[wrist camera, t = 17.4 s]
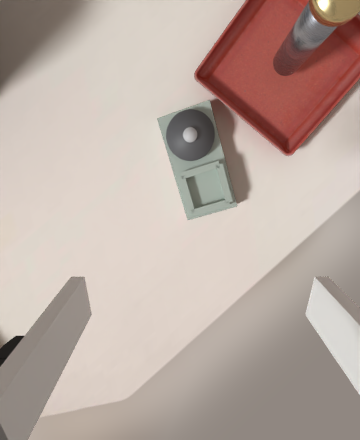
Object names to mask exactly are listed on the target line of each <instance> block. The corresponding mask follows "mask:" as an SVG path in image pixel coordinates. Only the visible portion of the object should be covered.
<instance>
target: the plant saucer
mask: <svg viewBox="0 0 360 440" xmlns="http://www.w3.org/2000/svg"><path fill="white" fill-rule="evenodd" d="M308 1H309V0H246V1H245V2H244V4H243V5H242V6H241V8H240V9H239V10H238V12H237V13H236V15H235V16H234V18H233V19H232V20H231V22H230V23H229V24H228V26H227V27H226V29H225V30H224V32H223V33H222V35H221V36H220V37H219V39H218V40H217V42H216V43H215V44H214V46H213V47H212V49H211V50H210V51H209V53H208V54H207V55H206V57H205V58H204V60H203V61H202V62H201V64H200V65H199V67H198V68H197V69H196V71H195V73H194V77H195V80H196V81H197V82H198V83H200V84H201V85H202V86H203V87H204V88H206V89H207V90H208V91H209V92H211V93H212V94H213V95H214V96H215V97H216V98H218V99H219V100H220V101H221V102H222V103H224V104H225V105H226V106H227V107H228V108H230V109H231V110H232V111H233V112H234V113H235V114H237V115H238V116H239V117H240V118H241V119H243V120H244V121H245V122H246V123H247V124H249V125H250V126H251V127H252V128H253V129H255V130H256V131H257V132H258V133H259V134H260V135H262V136H263V137H264V138H265V139H266V140H268V141H269V142H270V143H271V144H272V145H273V146H275V147H276V148H277V149H278V150H279V151H280V152H282V153H283V154H284V155H286V156H291V155H292V154H293V153H294V152H295V151H296V150H297V149H298V148H299V147H300V145H301V144H302V143H303V142H304V141H305V140H306V139H307V138H308V137H309V135H310V134H311V133H312V132H313V131H314V130H315V129H316V128H317V127H318V125H319V124H320V123H321V122H322V121H323V120H324V119H325V118H326V117H327V115H328V114H329V113H330V112H331V111H332V109H333V108H334V107H335V106H336V105H337V104H338V103H339V102H340V100H341V99H342V98H343V97H344V96H345V95H346V94H347V93H348V91H349V90H350V89H351V88H352V87H353V86H354V85H355V83H356V82H357V81H358V80H359V79H360V15H358V14H357V15H356V16H355V17H354V18H353V19H352V20H350V21H349V22H347V23H345V24H343V25H341V26H338V27H337V28H336V29H335V30H334V31H333V32H332V33H331V34H330V35H329V36H328V37H327V39H326V40H325V41H324V42H323V43H322V44H321V45H320V46H319V47H318V48H317V49H316V50H315V51H314V53H313V54H312V55H311V56H310V57H309V58H308V59H307V60H306V61H305V62H304V63H303V64H302V66H301V67H300V68H299V69H298V70H297V71H296V72H295V73H293V74H292V75H289V76H282V75H279V74H278V73H277V72H276V71H275V69H274V66H273V59H274V56H275V54H276V52H277V51H278V49H279V48H280V46H281V44H282V43H283V41H284V40H285V38H286V37H287V35H288V33H289V32H290V30H291V29H292V27H293V25H294V24H295V22H296V21H297V19H298V17H299V16H300V14H301V13H302V11H303V9H304V8H305V6H306V5H307V3H308Z"/></svg>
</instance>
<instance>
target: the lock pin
mask: <svg viewBox="0 0 360 440" xmlns="http://www.w3.org/2000/svg"><path fill="white" fill-rule="evenodd" d="M359 12H360V0H309V1H308V3H307V5H306V6H305V8H304V9H303V11H302V13H301V14H300V16H299V17H298V19H297V21H296V22H295V24H294V25H293V27H292V29H291V30H290V32H289V33H288V35H287V37H286V38H285V40H284V41H283V43H282V44H281V46H280V48H279V49H278V51H277V52H276V54H275V56H274V59H273V66H274V69H275V71H276V72H277V73H278V74H279V75H282V76H289V75H292V74H293V73H295V72H296V71H297V70H298V69H299V68H300V67H301V66H302V64H303V63H304V62H305V61H306V60H307V59H308V58H309V57H310V56H311V55H312V54H313V53H314V51H315V50H316V49H317V48H318V47H319V46H320V45H321V44H322V43H323V42H324V41H325V40H326V39H327V37H328V36H329V35H330V34H331V33H332V32H333V31H334V30H335V29H336V28H337V27H338V26H341V25H343V24H345V23H347V22H349V21H350V20H352V19H353V18H354V17H355V16H356V15H357V14H358V13H359Z"/></svg>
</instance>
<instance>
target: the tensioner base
mask: <svg viewBox="0 0 360 440" xmlns="http://www.w3.org/2000/svg"><path fill="white" fill-rule="evenodd" d="M157 120H158V123H159V126H160V130H161V133H162V136H163V140H164V143H165V146H166V150H167V153H168V156H169V160H170V163H171V166H172V169H173V173H174V176H175V179H176V183H177V186H178V189H179V193H180V196H181V199H182V203H183V206H184V209H185V213H186V216H187V219H188V220H190V219H194V218H197V217H201V216H205V215H208V214H212V213H215V212H219V211H222V210H226V209H229V208H233V207H237V203H236V200H235V196H234V192H233V188H232V184H231V180H230V177H229V173H228V169H227V165H226V161H225V157H224V154H223V150H222V146H221V142H220V138H219V134H218V131H217V127H216V123H215V119H214V115H213V111H212V108H211V104H210V100H208V101H205V102H202V103H200V104H197V105H194V106H191V107H188V108H185V109H183V110H180V111H177V112H174V113H171V114H168V115H166V116H163V117H160V118H157Z"/></svg>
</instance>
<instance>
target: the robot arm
mask: <svg viewBox="0 0 360 440" xmlns="http://www.w3.org/2000/svg"><path fill="white" fill-rule="evenodd" d="M91 315H92V314H91V309H90V304H89V298H88V293H87V288H86V283H85V277H71V278H70V279H69V280H68V282H67V283H66V284H65V285H64V287H63V288H62V289H61V290H60V292H59V293H58V294H57V296H56V297H55V298H54V299H53V301H52V302H51V303H50V304H49V306H48V307H47V308H46V309H45V311H44V312H43V313H42V315H41V316H40V317H39V318H38V320H37V321H36V322H35V323H34V325H33V326H32V327H31V329H30V330H29V331H28V332H27V334H26V335H25V336H15V337H14V338H13V339H11V340H10V341H9V342H7V343H6V344H5V345H3V346H2V347H1V349H0V440H28V438H29V436H30V434H31V432H32V430H33V428H34V426H35V425H36V423H37V421H38V419H39V417H40V415H41V413H42V411H43V409H44V407H45V405H46V403H47V401H48V399H49V397H50V395H51V393H52V391H53V389H54V387H55V385H56V383H57V381H58V379H59V377H60V375H61V374H62V372H63V370H64V368H65V366H66V364H67V362H68V360H69V358H70V356H71V354H72V352H73V350H74V348H75V346H76V344H77V342H78V340H79V338H80V336H81V334H82V332H83V330H84V328H85V326H86V324H87V323H88V321H89V319H90V317H91ZM306 316H307V318H308V319H309V321H310V322H311V324H312V325H313V327H314V328H315V329H316V331H317V332H318V334H319V336H320V337H321V338H322V340H323V341H324V343H325V344H326V346H327V347H328V349H329V350H330V352H331V353H332V355H333V356H334V357H335V359H336V361H337V362H338V363H339V365H340V366H341V368H342V369H343V371H344V372H345V374H346V375H347V377H348V378H349V380H350V381H351V383H352V384H353V386H354V387H355V389H356V390H357V391H358V393H359V394H360V307H359V306H358V305H357V304H355V302H354V301H352V299H351V298H350V297H349V296H348V295H346V293H345V292H343V291H342V290H341V289H340V288H339V287H338V286H337V285H336V284H335V283H334V282H333V281H332V280H331V279H330V278H329V277H314V282H313V286H312V290H311V294H310V299H309V303H308V307H307V311H306Z"/></svg>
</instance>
